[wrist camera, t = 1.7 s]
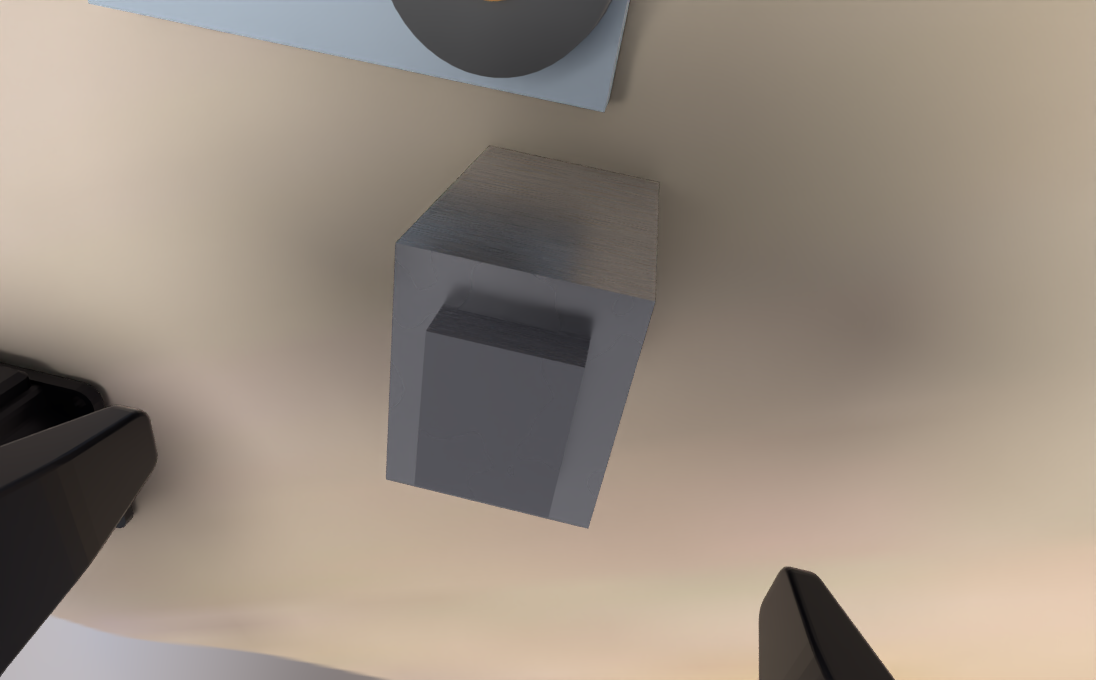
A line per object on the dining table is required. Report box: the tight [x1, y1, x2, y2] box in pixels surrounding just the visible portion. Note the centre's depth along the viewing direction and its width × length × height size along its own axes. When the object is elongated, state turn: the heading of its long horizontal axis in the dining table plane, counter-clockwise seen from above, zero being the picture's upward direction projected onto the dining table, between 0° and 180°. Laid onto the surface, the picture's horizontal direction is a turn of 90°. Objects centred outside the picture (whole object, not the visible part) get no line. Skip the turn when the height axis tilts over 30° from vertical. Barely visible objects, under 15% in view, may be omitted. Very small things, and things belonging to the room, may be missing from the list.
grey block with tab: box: [386, 145, 659, 528], centre depth 13 cm, size 5×4×7 cm
